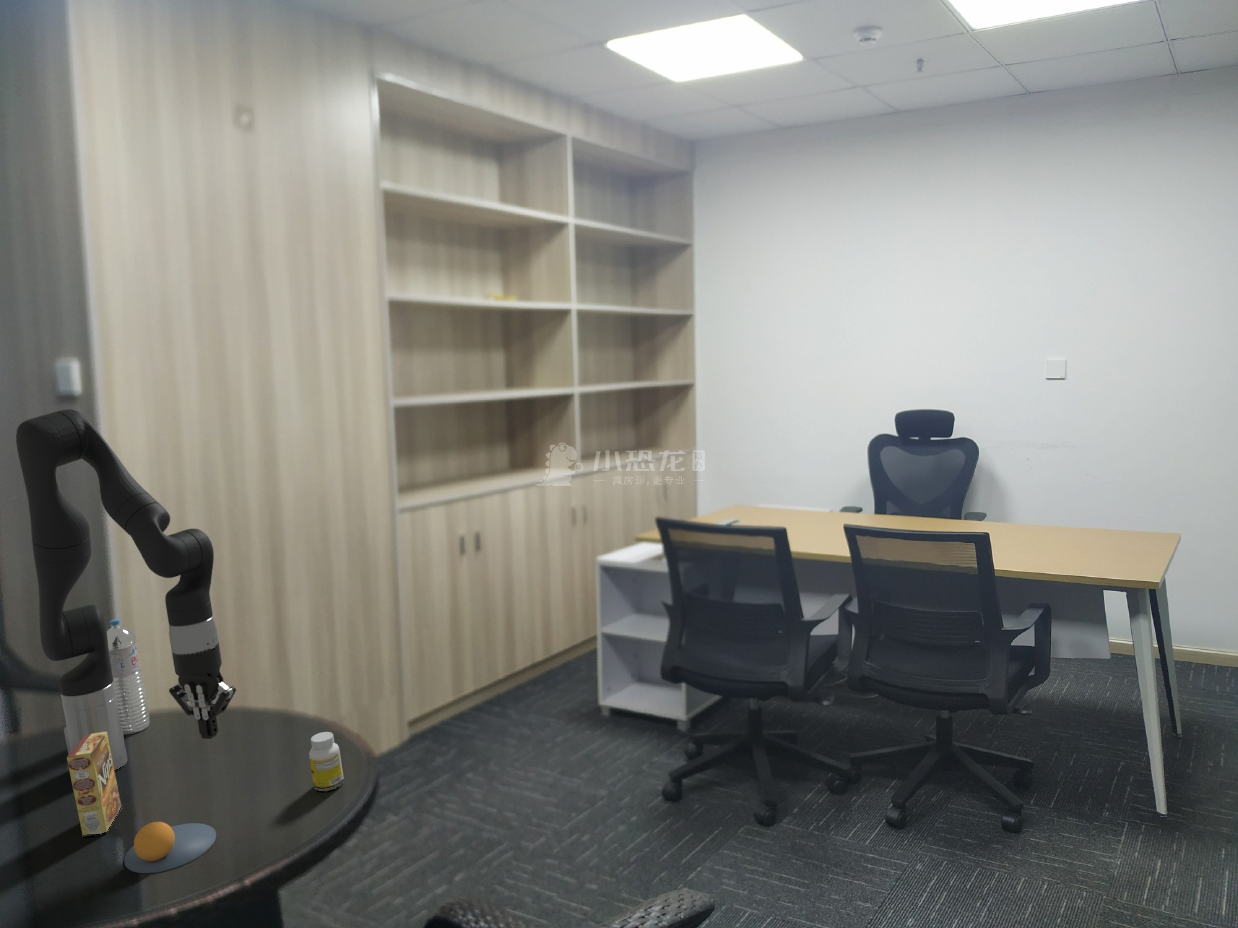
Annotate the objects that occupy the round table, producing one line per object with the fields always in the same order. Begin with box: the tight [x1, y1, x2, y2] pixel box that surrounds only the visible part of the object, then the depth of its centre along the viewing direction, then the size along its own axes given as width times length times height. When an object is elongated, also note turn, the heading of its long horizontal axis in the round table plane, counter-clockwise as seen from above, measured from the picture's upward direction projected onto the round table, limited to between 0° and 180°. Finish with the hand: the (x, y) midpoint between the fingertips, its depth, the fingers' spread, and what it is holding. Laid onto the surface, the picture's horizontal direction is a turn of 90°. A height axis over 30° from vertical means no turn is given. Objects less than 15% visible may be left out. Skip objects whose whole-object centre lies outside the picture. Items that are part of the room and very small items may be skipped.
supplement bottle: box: [308, 731, 345, 789], centre depth 170 cm, size 5×5×10 cm
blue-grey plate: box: [123, 822, 217, 874], centre depth 154 cm, size 14×14×1 cm
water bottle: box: [107, 618, 151, 736], centre depth 201 cm, size 7×7×25 cm
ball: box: [133, 821, 175, 861], centre depth 151 cm, size 6×6×6 cm
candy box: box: [66, 732, 122, 836], centre depth 163 cm, size 9×4×15 cm, turn 13°
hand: (209, 736), depth 163 cm, fingers closed
